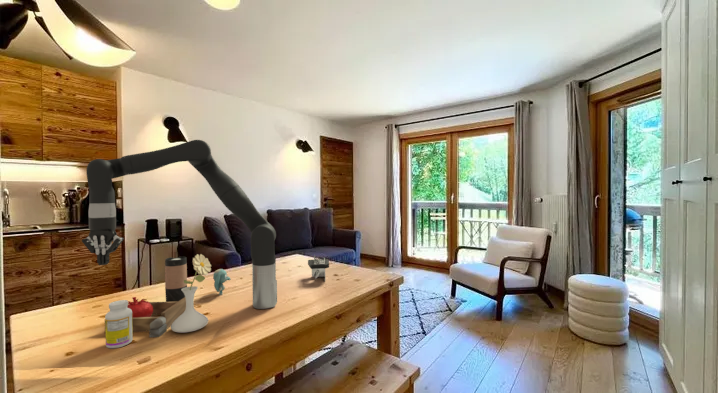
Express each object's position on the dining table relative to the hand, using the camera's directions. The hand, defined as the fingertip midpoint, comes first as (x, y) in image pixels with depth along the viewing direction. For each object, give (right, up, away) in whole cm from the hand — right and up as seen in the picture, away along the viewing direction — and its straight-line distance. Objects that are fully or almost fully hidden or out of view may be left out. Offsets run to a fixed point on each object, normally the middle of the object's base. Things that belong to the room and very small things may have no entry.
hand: (103, 264), depth 112 cm
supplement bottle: (+17, -21, -15) cm, 31 cm away
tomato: (+11, -21, +1) cm, 24 cm away
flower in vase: (+34, -21, -4) cm, 40 cm away
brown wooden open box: (+16, -21, -1) cm, 26 cm away
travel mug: (+17, -21, +15) cm, 31 cm away
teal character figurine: (+29, -21, +30) cm, 47 cm away
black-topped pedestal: (+70, -20, +52) cm, 89 cm away
